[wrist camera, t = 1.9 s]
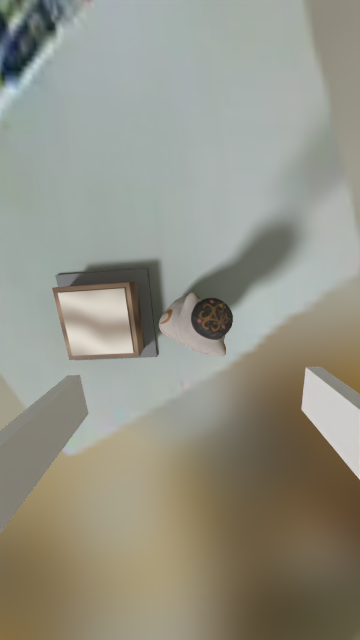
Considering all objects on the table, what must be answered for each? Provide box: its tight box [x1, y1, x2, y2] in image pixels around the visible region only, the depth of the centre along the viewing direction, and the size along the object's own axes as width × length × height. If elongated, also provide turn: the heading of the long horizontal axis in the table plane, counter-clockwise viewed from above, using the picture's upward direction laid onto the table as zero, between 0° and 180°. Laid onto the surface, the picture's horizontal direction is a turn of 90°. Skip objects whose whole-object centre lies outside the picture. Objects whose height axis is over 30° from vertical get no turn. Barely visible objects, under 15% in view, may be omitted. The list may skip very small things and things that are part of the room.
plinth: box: [52, 281, 145, 360], centre depth 31 cm, size 12×12×4 cm
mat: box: [56, 268, 157, 360], centre depth 33 cm, size 16×16×1 cm
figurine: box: [159, 292, 233, 356], centre depth 25 cm, size 9×10×15 cm
